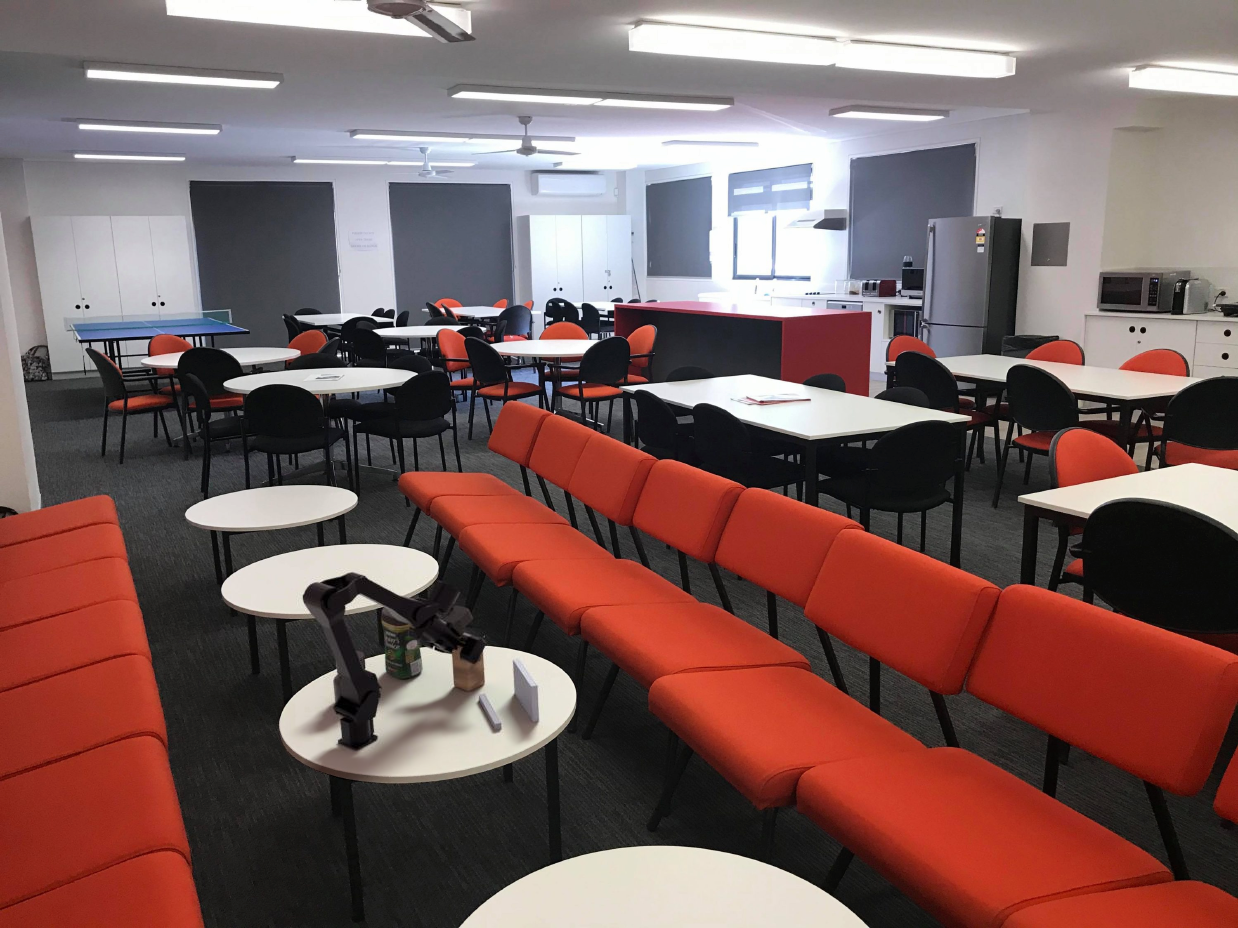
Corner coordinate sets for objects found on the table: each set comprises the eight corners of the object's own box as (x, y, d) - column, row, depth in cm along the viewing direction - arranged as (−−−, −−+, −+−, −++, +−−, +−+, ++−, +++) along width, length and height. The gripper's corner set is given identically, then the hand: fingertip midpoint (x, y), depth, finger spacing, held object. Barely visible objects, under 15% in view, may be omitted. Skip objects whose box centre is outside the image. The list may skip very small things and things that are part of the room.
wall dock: (495, 729, 214) (493, 693, 212) (479, 699, 228) (476, 665, 226) (539, 720, 218) (537, 685, 216) (520, 691, 232) (518, 658, 230)
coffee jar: (380, 672, 245) (374, 606, 241) (405, 662, 251) (400, 597, 246) (403, 682, 239) (397, 614, 234) (428, 672, 244) (423, 605, 240)
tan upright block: (468, 691, 233) (465, 640, 230) (453, 685, 236) (450, 635, 233) (484, 683, 237) (482, 633, 234) (470, 677, 240) (467, 628, 237)
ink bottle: (381, 697, 231) (377, 652, 228) (356, 713, 223) (352, 667, 221) (351, 690, 235) (347, 646, 233) (326, 705, 228) (321, 660, 225)
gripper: (478, 608, 223) (513, 636, 233) (427, 592, 234) (462, 620, 245) (455, 650, 218) (492, 677, 229) (404, 632, 230) (441, 658, 240)
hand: (471, 656), depth 236 cm, fingers closed on tan upright block, 5 cm apart
